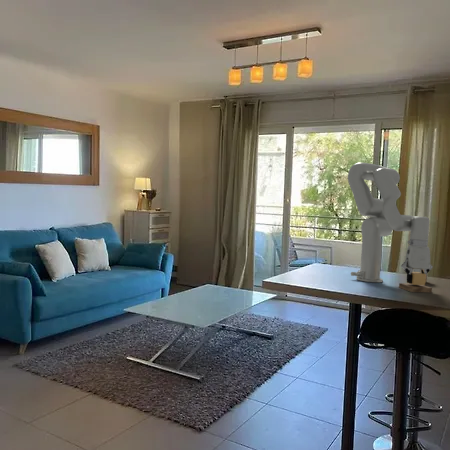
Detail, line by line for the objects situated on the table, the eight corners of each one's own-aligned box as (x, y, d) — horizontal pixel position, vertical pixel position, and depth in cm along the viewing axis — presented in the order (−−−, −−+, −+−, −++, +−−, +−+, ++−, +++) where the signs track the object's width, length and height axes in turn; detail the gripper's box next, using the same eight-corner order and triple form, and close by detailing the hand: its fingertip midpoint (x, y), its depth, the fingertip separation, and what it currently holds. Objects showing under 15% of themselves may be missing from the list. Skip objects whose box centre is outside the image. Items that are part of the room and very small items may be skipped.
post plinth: (411, 292, 202) (412, 280, 202) (399, 287, 212) (399, 276, 211) (431, 292, 204) (432, 281, 203) (418, 287, 213) (419, 277, 213)
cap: (413, 284, 204) (414, 273, 204) (406, 282, 210) (407, 271, 209) (425, 285, 205) (425, 274, 205) (417, 282, 211) (418, 272, 210)
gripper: (405, 243, 201) (403, 284, 202) (440, 245, 204) (437, 284, 205) (396, 242, 209) (394, 281, 210) (430, 243, 212) (427, 281, 213)
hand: (415, 282), depth 207 cm, fingers closed on cap, 5 cm apart
